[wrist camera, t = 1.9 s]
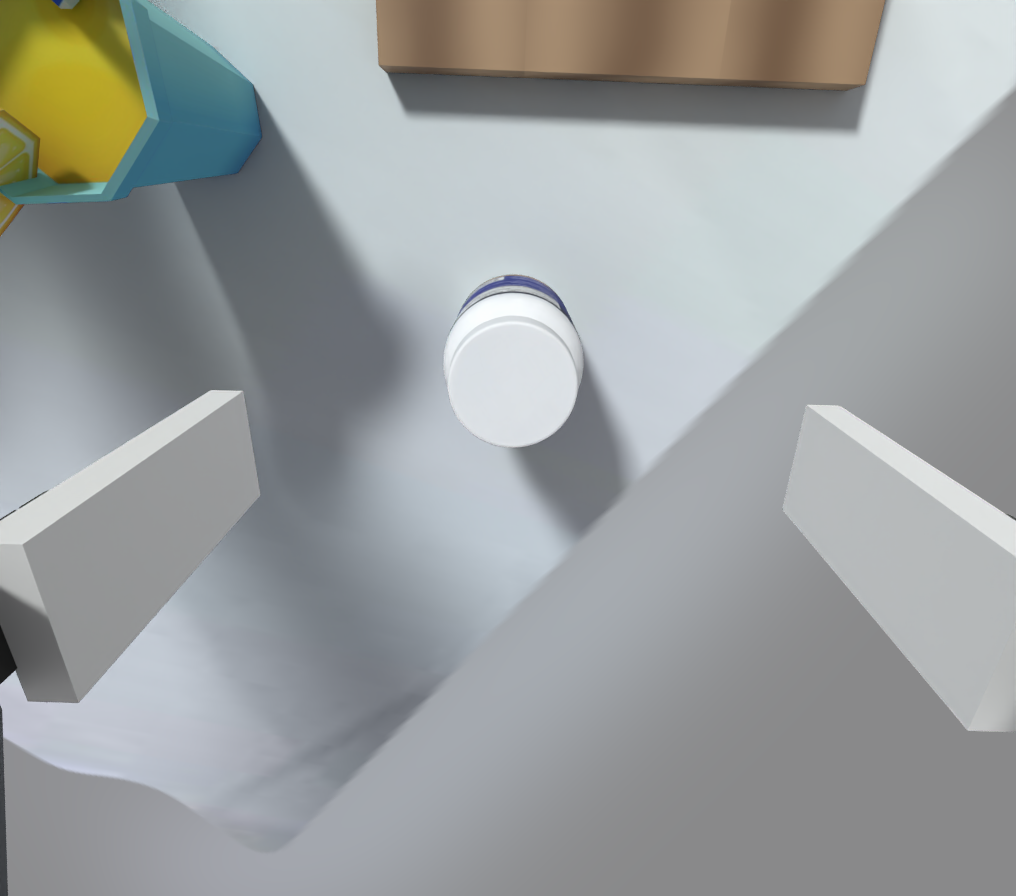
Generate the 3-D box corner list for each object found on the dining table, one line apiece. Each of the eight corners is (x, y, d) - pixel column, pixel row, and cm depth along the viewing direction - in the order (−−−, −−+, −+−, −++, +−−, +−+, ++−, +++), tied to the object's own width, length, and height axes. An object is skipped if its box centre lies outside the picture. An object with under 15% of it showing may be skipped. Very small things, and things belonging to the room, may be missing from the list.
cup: (135, -144, 23) (-446, -658, 9) (329, -57, 24) (71, -402, 10) (102, 217, 28) (-299, 238, 14) (262, 276, 29) (31, 350, 15)
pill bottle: (557, 392, 31) (573, 474, 22) (450, 374, 31) (422, 449, 22) (581, 282, 29) (609, 322, 20) (466, 261, 29) (441, 293, 19)
